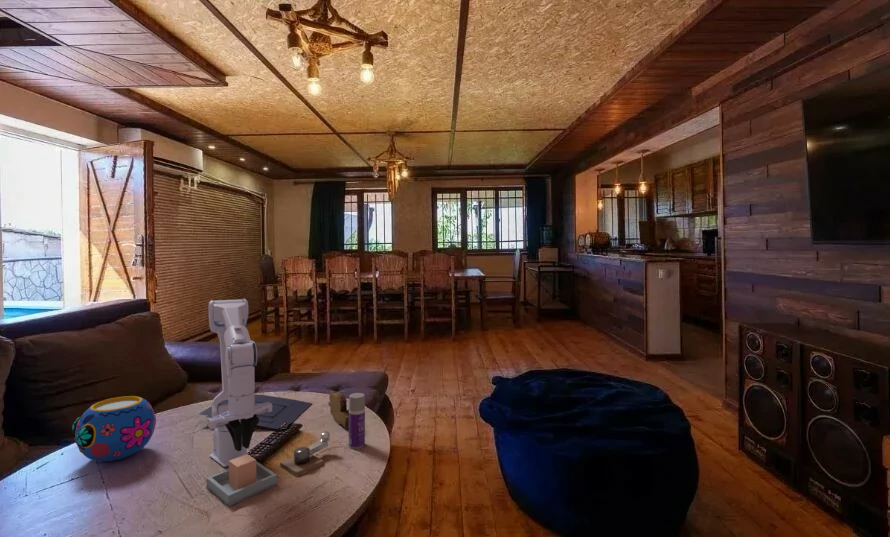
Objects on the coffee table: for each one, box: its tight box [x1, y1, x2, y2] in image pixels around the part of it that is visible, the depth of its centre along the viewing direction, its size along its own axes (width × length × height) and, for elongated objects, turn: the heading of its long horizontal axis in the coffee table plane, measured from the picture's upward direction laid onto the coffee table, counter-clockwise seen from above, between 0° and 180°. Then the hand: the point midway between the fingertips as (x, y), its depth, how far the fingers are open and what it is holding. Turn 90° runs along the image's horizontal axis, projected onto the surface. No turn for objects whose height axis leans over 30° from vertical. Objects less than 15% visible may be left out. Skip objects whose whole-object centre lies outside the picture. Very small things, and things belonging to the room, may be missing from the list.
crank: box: [293, 430, 330, 464], centre depth 116 cm, size 12×4×4 cm, turn 151°
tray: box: [206, 460, 278, 507], centre depth 102 cm, size 12×12×2 cm
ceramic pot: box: [71, 395, 157, 462], centre depth 116 cm, size 18×18×15 cm
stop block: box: [228, 454, 257, 490], centre depth 102 cm, size 4×4×6 cm
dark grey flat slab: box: [198, 393, 313, 430], centre depth 146 cm, size 24×30×4 cm
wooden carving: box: [328, 392, 349, 429], centre depth 140 cm, size 16×5×10 cm, turn 40°
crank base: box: [279, 454, 324, 477], centre depth 112 cm, size 8×8×1 cm
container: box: [348, 392, 366, 450], centre depth 124 cm, size 5×5×15 cm
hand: (241, 448), depth 102 cm, fingers closed
